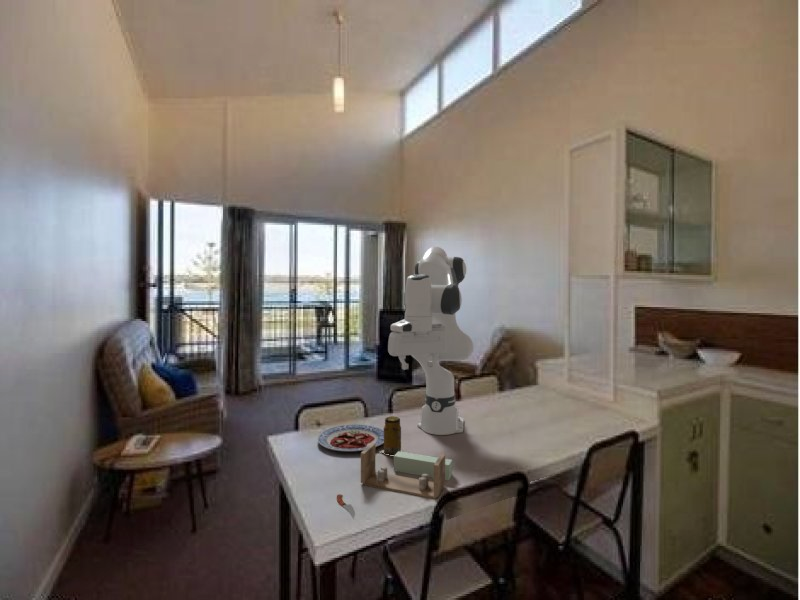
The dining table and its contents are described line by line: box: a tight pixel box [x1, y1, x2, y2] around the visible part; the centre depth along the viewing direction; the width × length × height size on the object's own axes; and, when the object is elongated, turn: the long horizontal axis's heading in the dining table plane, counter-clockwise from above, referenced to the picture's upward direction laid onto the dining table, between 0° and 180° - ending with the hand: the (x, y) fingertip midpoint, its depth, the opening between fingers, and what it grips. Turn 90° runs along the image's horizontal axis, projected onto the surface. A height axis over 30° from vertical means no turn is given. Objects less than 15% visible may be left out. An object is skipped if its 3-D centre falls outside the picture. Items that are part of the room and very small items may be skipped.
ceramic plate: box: [317, 424, 384, 452], centre depth 161 cm, size 26×26×3 cm
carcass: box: [360, 443, 446, 500], centre depth 127 cm, size 8×24×10 cm, turn 70°
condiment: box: [378, 415, 411, 459], centre depth 151 cm, size 7×8×12 cm
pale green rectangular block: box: [393, 451, 453, 481], centre depth 136 cm, size 4×18×5 cm, turn 69°
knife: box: [336, 493, 358, 520], centre depth 116 cm, size 13×1×3 cm
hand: (417, 368), depth 138 cm, fingers open, 8 cm apart
